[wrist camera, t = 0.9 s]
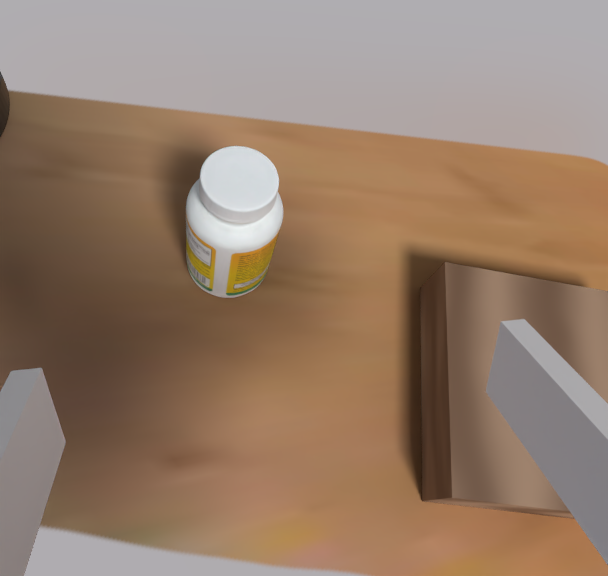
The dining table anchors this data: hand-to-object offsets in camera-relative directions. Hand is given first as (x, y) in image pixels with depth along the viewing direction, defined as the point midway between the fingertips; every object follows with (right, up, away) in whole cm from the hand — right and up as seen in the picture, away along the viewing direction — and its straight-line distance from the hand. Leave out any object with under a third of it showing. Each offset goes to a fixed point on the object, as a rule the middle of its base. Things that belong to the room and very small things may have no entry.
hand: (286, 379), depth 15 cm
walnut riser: (+15, -5, +19) cm, 25 cm away
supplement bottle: (-5, +4, +19) cm, 20 cm away
